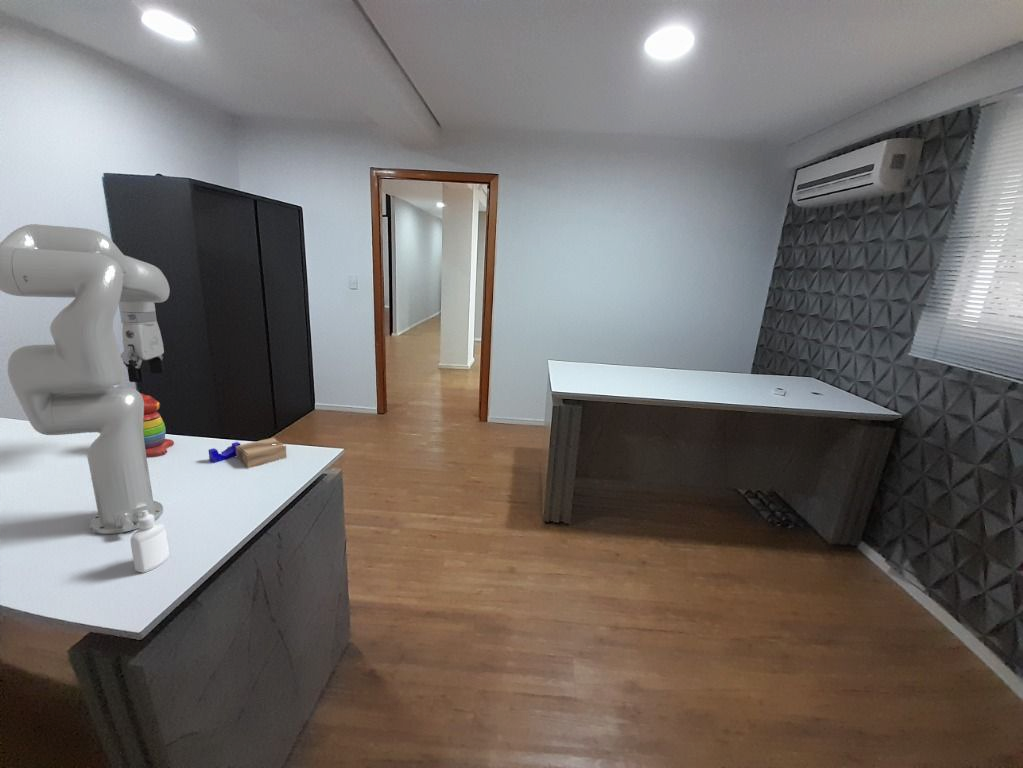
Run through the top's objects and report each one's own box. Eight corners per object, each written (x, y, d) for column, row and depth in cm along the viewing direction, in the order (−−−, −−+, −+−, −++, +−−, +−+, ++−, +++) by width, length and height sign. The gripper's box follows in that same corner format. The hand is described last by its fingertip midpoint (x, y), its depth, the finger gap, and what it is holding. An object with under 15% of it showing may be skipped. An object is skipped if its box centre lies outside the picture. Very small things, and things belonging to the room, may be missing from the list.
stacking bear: (164, 456, 130) (156, 400, 126) (121, 459, 126) (112, 401, 122) (176, 442, 140) (169, 389, 135) (136, 445, 136) (128, 390, 131)
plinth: (286, 457, 135) (285, 445, 134) (248, 468, 127) (246, 455, 126) (274, 448, 141) (273, 436, 140) (236, 458, 132) (235, 445, 131)
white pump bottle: (173, 563, 87) (165, 510, 84) (137, 576, 83) (127, 521, 80) (168, 552, 90) (160, 501, 87) (132, 565, 86) (123, 511, 83)
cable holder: (235, 452, 137) (234, 440, 136) (241, 455, 135) (240, 443, 134) (207, 460, 130) (206, 448, 129) (213, 464, 128) (211, 451, 127)
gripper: (134, 322, 112) (144, 385, 116) (171, 314, 128) (178, 370, 133) (100, 320, 110) (111, 385, 115) (142, 313, 127) (150, 369, 131)
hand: (147, 377), depth 124 cm, fingers open, 9 cm apart
